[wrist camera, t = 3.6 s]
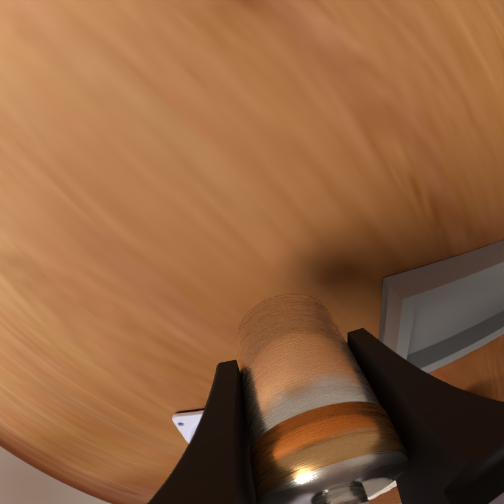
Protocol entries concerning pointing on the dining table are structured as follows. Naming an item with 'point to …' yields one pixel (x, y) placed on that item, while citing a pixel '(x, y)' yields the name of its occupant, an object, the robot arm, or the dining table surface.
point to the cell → (311, 409)
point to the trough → (444, 307)
